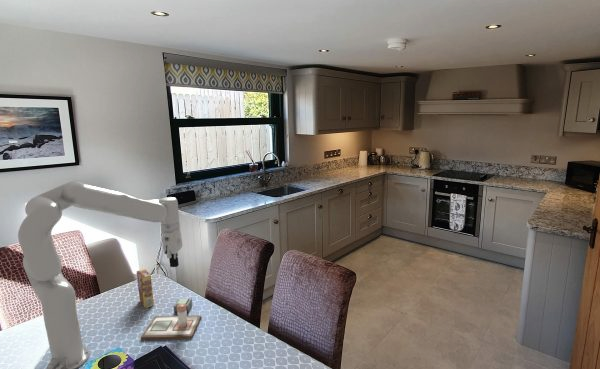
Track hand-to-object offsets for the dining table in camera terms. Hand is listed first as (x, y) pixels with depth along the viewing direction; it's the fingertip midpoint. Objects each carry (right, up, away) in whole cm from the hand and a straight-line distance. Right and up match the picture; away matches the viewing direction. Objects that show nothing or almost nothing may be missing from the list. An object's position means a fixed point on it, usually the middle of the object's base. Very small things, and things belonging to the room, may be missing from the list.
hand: (174, 266), depth 152 cm
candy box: (-17, -20, +11) cm, 28 cm away
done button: (+2, -19, +5) cm, 20 cm away
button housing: (+2, -21, +5) cm, 21 cm away
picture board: (+2, -24, -9) cm, 25 cm away
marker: (+7, -22, -9) cm, 25 cm away
